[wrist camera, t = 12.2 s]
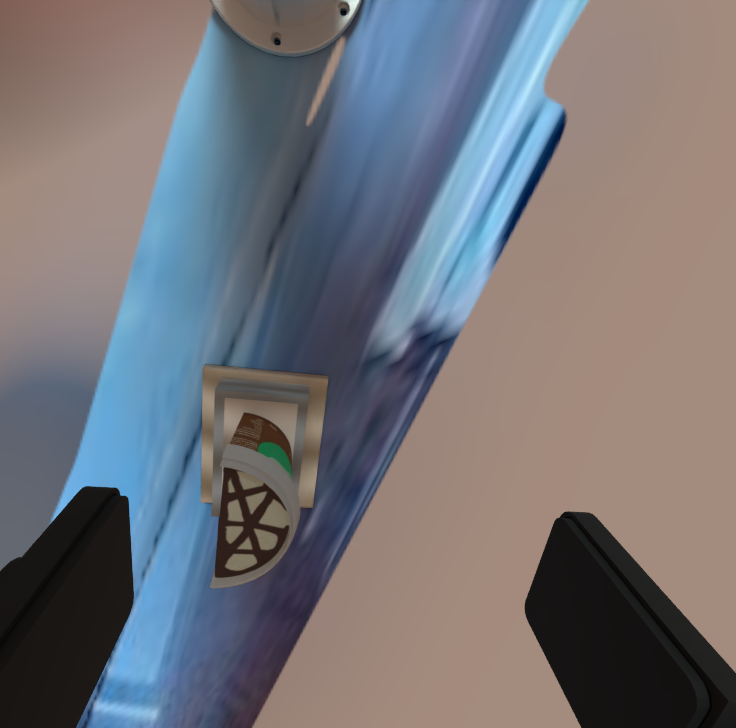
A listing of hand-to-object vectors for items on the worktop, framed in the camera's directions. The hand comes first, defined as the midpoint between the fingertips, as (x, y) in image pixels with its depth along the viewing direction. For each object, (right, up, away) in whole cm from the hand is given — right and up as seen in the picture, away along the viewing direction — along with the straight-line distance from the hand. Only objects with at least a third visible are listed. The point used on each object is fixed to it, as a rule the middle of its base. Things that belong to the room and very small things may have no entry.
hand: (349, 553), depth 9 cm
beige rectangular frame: (-11, -4, +35) cm, 37 cm away
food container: (-9, -5, +31) cm, 33 cm away
